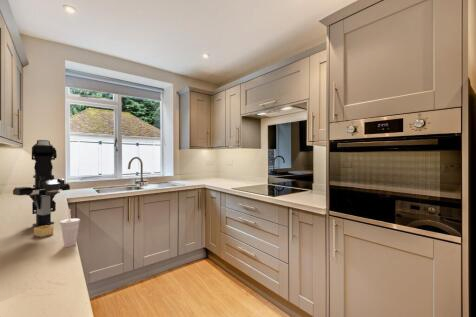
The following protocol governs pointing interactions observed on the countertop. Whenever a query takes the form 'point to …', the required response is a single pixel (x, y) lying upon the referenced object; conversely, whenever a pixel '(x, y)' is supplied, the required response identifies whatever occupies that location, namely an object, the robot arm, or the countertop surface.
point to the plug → (44, 205)
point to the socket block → (43, 231)
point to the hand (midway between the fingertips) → (43, 208)
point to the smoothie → (69, 230)
